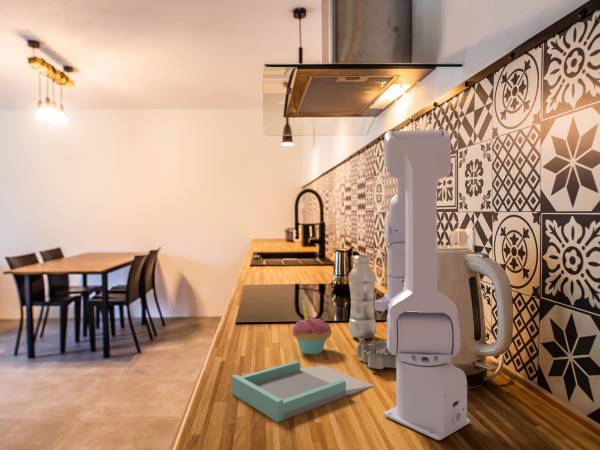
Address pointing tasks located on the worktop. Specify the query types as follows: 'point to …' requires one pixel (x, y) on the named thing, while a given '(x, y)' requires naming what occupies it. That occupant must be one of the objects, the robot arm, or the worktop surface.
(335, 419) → the worktop surface
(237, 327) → the worktop surface
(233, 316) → the worktop surface
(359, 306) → the plastic bottle
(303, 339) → the cupcake
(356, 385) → the dock
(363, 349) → the egg carton
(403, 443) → the worktop surface
